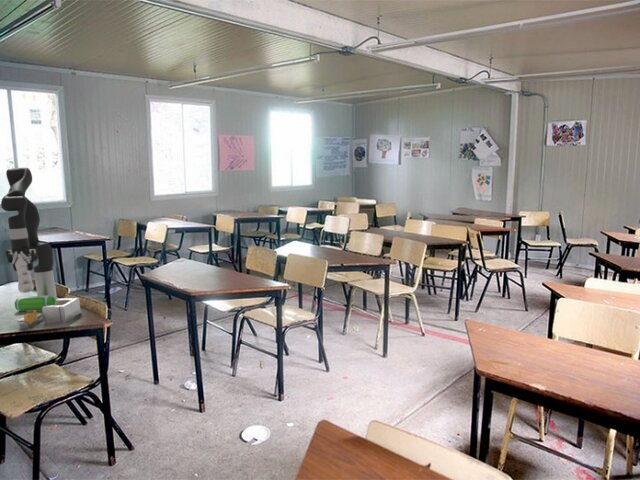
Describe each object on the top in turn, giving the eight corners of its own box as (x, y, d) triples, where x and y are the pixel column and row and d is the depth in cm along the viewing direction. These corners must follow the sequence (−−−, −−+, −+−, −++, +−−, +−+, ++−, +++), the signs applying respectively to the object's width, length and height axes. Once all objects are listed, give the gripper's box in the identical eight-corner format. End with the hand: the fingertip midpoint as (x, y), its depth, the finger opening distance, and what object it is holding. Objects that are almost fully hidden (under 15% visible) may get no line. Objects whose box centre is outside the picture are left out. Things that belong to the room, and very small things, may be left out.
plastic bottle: (17, 292, 237) (11, 253, 234) (32, 289, 242) (26, 251, 239) (21, 294, 233) (15, 254, 229) (36, 291, 238) (30, 252, 234)
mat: (28, 315, 244) (28, 314, 244) (43, 314, 245) (43, 313, 244) (17, 321, 235) (16, 320, 235) (32, 321, 235) (32, 319, 235)
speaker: (56, 306, 258) (54, 293, 257) (50, 311, 251) (48, 297, 250) (22, 309, 256) (20, 295, 255) (15, 313, 249) (13, 299, 248)
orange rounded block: (33, 321, 233) (31, 308, 231) (39, 321, 233) (37, 307, 231) (23, 327, 225) (21, 313, 224) (29, 327, 225) (27, 313, 224)
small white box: (46, 314, 245) (44, 299, 244) (80, 312, 245) (78, 297, 244) (20, 329, 223) (17, 313, 221) (57, 328, 223) (55, 311, 222)
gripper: (-1, 239, 229) (4, 272, 232) (29, 238, 229) (34, 271, 232) (9, 236, 236) (13, 269, 239) (38, 235, 237) (42, 268, 239)
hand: (23, 270), depth 236 cm, fingers closed on plastic bottle, 6 cm apart
